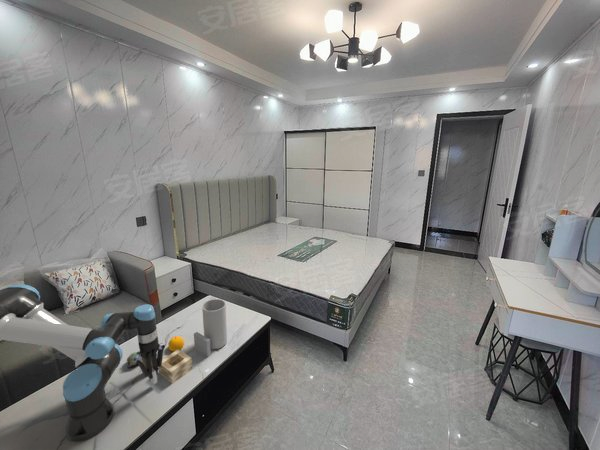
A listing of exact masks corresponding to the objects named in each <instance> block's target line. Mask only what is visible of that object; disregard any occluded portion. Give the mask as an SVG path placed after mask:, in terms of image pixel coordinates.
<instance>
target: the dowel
mask: <svg viewBox="0 0 600 450" xmlns="http://www.w3.org/2000/svg"><path fill="white" fill-rule="evenodd" d="M142 360H143V364H144V366H145V368H146V361H145V358H142ZM151 365H152V360H151ZM152 368H153V367H152ZM146 370H147V368H146ZM144 376H147V377H148V375H145V374H144Z"/></svg>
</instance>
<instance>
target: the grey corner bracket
mask: <svg viewBox="0 0 600 450" xmlns="http://www.w3.org/2000/svg"><path fill="white" fill-rule="evenodd" d="M193 341H194V349H193V350H191V351H190V352H189V353H187V354H186V355H188V356H189V357H191V358H192V368H193V369H194V368H196V367H197V366H198V365H200V364H201V363H203V361H205V360H206V359H208V358H209V357H210V356H212V351H211V350H212V349H211V348H210V339H208V338H207V337H205V336H204V334H202V333H199V332H198V331H196V332H194V333H193ZM193 369H191V370H193ZM191 370H190V371H191ZM187 373H189V372H187ZM187 373H186V374H187ZM183 376H185V375H183ZM183 376H182V377H183ZM145 383H146V384H147V385H148V386H149V387H151V389H153V390H154V391H155V392H156V393H157V394H160V393H162V392H164V391H165V390H166V389H167V388H169V387H170V386H171V385H173V384H174V383H171V382H170V381H168V380H167V379H166V378H165V377H163V376H162V375H161V374H160V373H159V372H158V375H157V383H156V384H153V383H152V382H151V379H150V378H149V379H148V380H147V381H145Z"/></svg>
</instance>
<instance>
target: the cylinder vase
mask: <svg viewBox="0 0 600 450" xmlns="http://www.w3.org/2000/svg"><path fill="white" fill-rule="evenodd" d="M201 308H202V310H201V311H202V322H203V325H202V326H203V336H205V337H207V338H208V339H210V348H211V350H213V351H214V350H218V349H221V348H223V347H224V346H225V345H226V344H227V342H228V331H227V330H228V326H227V311H226V310H227V308H226V301H225V300H224V299H220V298H218V299H217V298H215V299H209V300H207V301H205V302H204V303H202V306H201Z"/></svg>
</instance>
